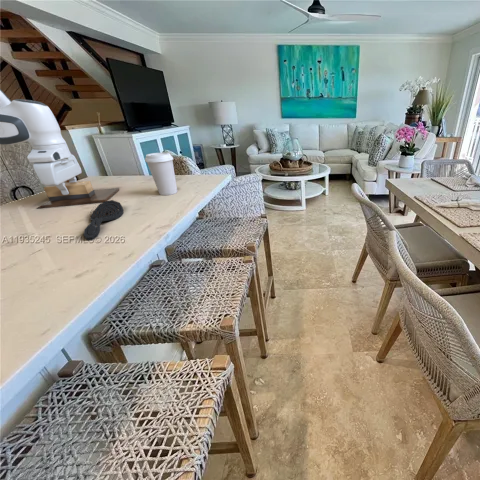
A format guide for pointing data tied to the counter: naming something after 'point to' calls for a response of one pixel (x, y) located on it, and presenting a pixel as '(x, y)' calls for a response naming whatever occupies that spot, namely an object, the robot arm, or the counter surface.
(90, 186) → the scrub brush
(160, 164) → the coffee cup
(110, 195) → the walnut board
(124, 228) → the counter surface
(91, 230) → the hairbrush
